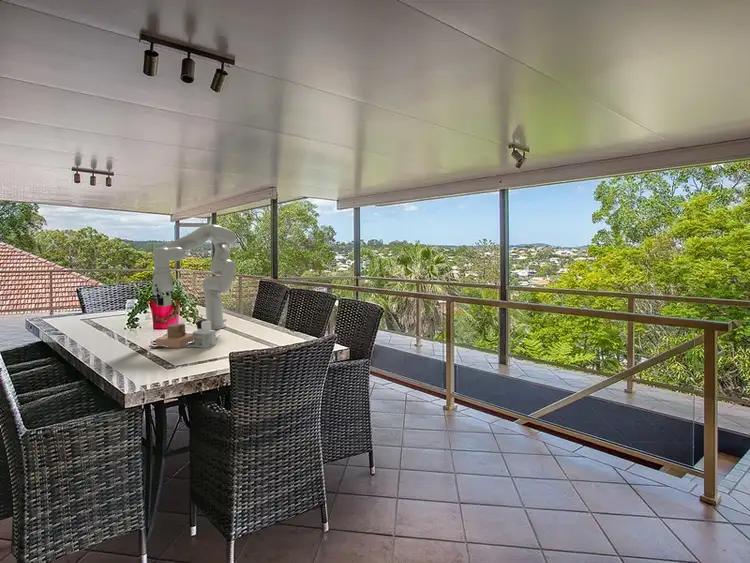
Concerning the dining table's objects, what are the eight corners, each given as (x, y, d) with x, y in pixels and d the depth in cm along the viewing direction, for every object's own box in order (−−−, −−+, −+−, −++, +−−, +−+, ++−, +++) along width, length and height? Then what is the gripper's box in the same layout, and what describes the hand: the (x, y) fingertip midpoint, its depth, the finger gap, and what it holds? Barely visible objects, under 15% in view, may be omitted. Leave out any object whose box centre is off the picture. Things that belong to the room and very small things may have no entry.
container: (193, 346, 222) (192, 321, 221) (205, 343, 229) (204, 318, 228) (204, 348, 219) (202, 322, 217) (216, 344, 226) (215, 320, 224)
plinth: (174, 340, 237) (174, 332, 237) (197, 341, 234) (196, 333, 233) (156, 346, 223) (155, 338, 223) (179, 347, 220) (179, 340, 220)
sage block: (163, 304, 239) (163, 295, 239) (171, 304, 238) (171, 295, 237) (157, 305, 234) (156, 296, 234) (164, 306, 233) (164, 296, 233)
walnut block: (175, 334, 232) (174, 323, 231) (185, 335, 231) (184, 324, 230) (167, 337, 226) (167, 326, 225) (177, 337, 225) (177, 326, 224)
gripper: (167, 269, 243) (169, 302, 245) (144, 272, 227) (146, 307, 229) (179, 269, 241) (181, 302, 243) (156, 272, 225) (158, 307, 227)
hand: (164, 304), depth 236 cm, fingers closed on sage block, 5 cm apart
